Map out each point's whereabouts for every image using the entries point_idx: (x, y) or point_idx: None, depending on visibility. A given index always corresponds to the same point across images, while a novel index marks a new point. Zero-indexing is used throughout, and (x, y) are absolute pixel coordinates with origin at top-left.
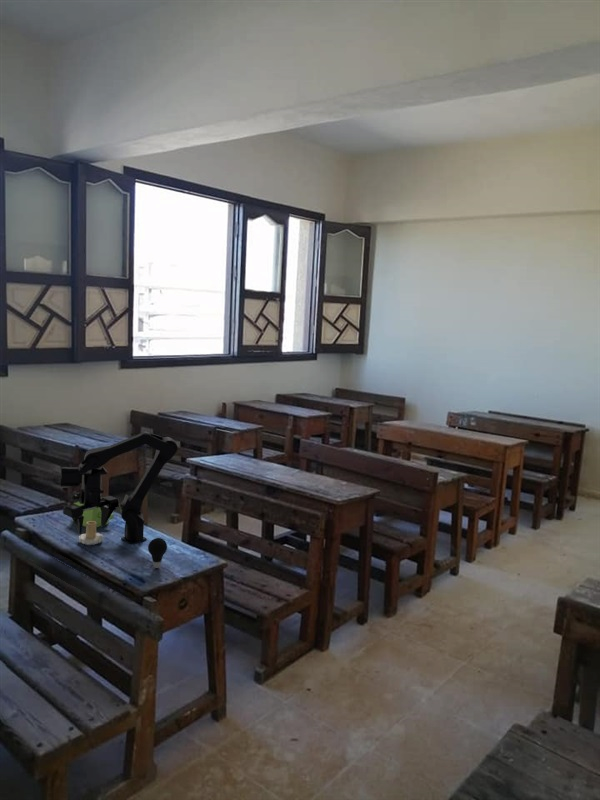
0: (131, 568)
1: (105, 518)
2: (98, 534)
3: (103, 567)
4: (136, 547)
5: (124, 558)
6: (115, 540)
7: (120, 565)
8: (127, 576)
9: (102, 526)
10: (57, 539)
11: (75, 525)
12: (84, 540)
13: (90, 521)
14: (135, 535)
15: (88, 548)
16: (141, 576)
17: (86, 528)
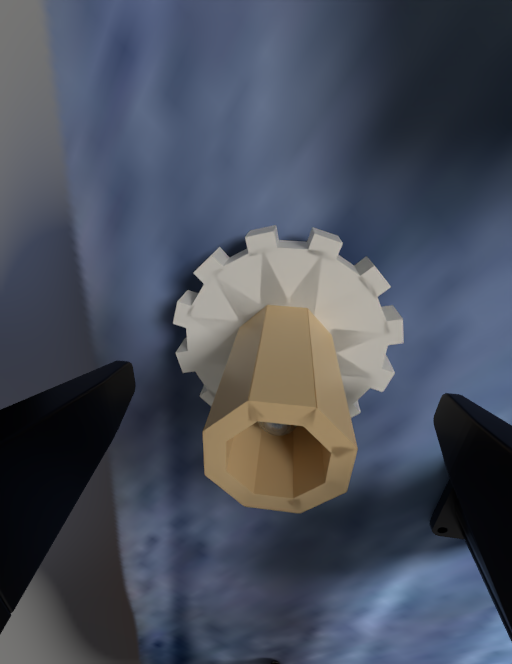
0: (210, 621)
1: (498, 570)
2: (368, 358)
3: (130, 565)
4: (405, 551)
5: (255, 573)
6: (431, 421)
7: (195, 592)
8: (160, 634)
9: (439, 417)
10: (82, 10)
11: (14, 409)
12: (188, 371)
13: (302, 423)
14: (485, 584)
15: (198, 395)
16: (195, 654)
17: (220, 387)
